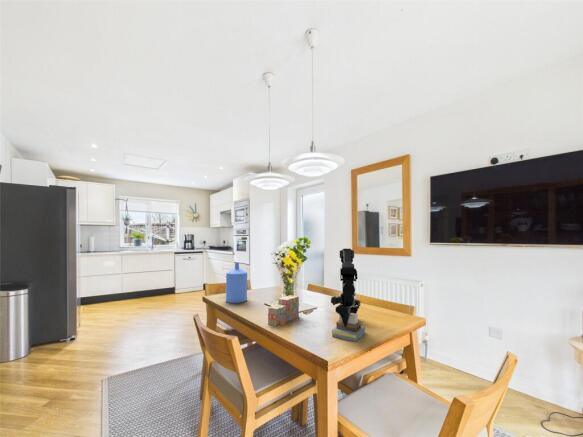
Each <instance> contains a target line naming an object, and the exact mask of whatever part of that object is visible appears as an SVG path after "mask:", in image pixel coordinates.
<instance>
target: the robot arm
mask: <svg viewBox="0 0 583 437" xmlns="http://www.w3.org/2000/svg"><path fill="white" fill-rule="evenodd" d="M339 259H340V262H341V267H340V270H339V273H340V282H342V283H341V284H342V285H341V286H342V287H341V288H342V292H341V293H340V295H339V296H335V295H334V296H332V297H331V299H330V303H331V305H332V306H335V305H337V306H336V307H335V313H337V314H338V315H340V316H341V318H342V321H343V324H344V326H345V327H346V326H347V323H348V320H349V317H350V314H351V313H355V314H358V311H359V309H360V307H361V300H360V299H355V296H357V295H356V294H357V293H356V287H355V282H357V280H358V278H359V277H358V270H357V268H355V264H354V263H353V262H354V259H355V250H353V249H352V248H342V249H341V250H339ZM338 304H339V305H338Z"/></svg>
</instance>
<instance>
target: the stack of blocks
mask: <svg viewBox="0 0 583 437" xmlns="http://www.w3.org/2000/svg"><path fill="white" fill-rule="evenodd" d="M299 299H300V296H298V295H291V294H290V295H286V296H283V297H280V298H277V300H278V304H274V305H272V306H269V307H268V311H267V312H268V314H267V322H268V323H267V324H268V325H269V326H274V327H278V326H280V325H283V324H286V323H287V322H290V321H292V320H294V319H297V318H299V317H300V315H299V313H300V312H299V311H300V302H299V301H300V300H299Z"/></svg>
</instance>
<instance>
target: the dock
mask: <svg viewBox="0 0 583 437" xmlns="http://www.w3.org/2000/svg"><path fill="white" fill-rule="evenodd" d="M365 334H366V327H365V326H362V325H361V329H359V330H357V332H352V331H347V330H342V329H337V328H336V326H335V327H334V328H333V329H331V336H332V337H334V338H337V339H338V338H339V339H343V340H347V341H351V342H357V341H359V340H360V339H361V338H362V337H363V336H364V335H365Z"/></svg>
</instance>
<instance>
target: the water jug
mask: <svg viewBox="0 0 583 437" xmlns="http://www.w3.org/2000/svg"><path fill="white" fill-rule="evenodd" d="M225 283H226V284H225V302H226V303H229V304H241V303H245V302H246V301H247V300H248V272H247V271H245V270H243V269H241V268H240V262H234V268H233V269H231V270H230V271H227V272H226V275H225Z"/></svg>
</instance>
